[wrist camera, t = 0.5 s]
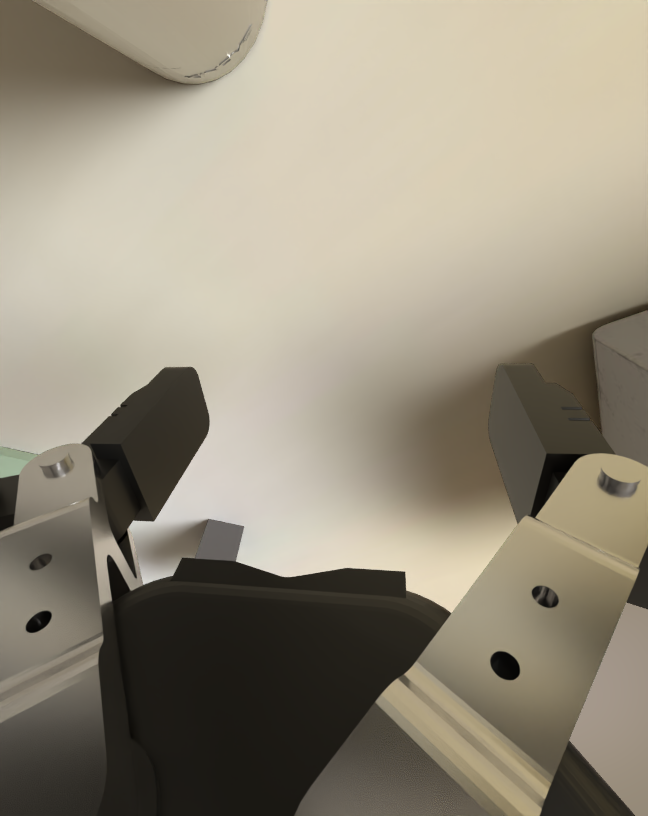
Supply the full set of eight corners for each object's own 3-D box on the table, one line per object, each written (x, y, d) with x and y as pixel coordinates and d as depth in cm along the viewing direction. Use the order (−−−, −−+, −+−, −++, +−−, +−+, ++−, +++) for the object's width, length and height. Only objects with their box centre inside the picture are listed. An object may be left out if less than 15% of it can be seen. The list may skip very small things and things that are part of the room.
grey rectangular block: (203, 543, 42) (170, 640, 33) (208, 519, 40) (175, 613, 32) (237, 550, 42) (214, 647, 34) (244, 526, 41) (220, 622, 32)
